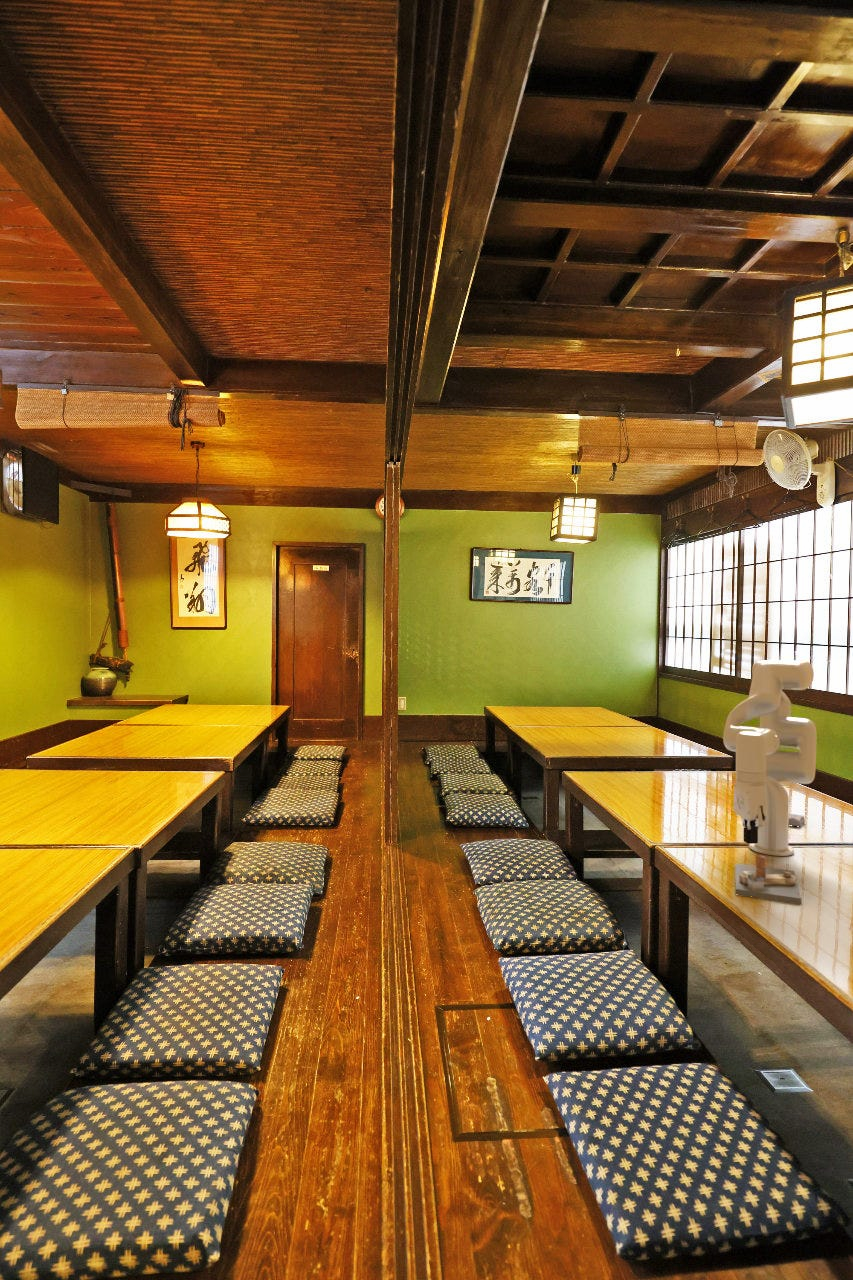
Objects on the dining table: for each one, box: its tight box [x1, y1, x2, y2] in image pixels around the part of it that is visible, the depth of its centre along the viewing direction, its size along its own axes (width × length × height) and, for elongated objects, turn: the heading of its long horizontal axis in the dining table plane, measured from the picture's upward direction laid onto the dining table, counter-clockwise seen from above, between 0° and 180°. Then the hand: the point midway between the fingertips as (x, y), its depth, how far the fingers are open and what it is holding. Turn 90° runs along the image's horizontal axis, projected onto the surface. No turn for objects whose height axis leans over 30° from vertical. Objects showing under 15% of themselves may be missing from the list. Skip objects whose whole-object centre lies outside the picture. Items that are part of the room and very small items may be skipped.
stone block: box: [789, 813, 806, 827], centre depth 245 cm, size 12×5×10 cm
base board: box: [734, 862, 802, 905], centre depth 183 cm, size 22×15×2 cm
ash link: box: [739, 854, 797, 885], centre depth 180 cm, size 14×4×7 cm, turn 90°
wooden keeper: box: [742, 871, 764, 890], centre depth 177 cm, size 3×5×3 cm, turn 4°
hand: (750, 842), depth 187 cm, fingers closed
